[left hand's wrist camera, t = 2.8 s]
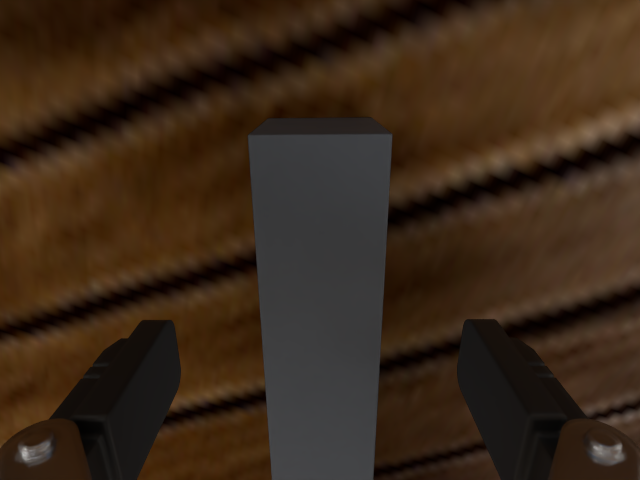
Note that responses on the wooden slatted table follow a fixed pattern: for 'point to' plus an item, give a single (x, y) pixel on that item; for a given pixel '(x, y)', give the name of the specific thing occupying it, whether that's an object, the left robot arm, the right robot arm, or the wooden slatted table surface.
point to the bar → (321, 289)
